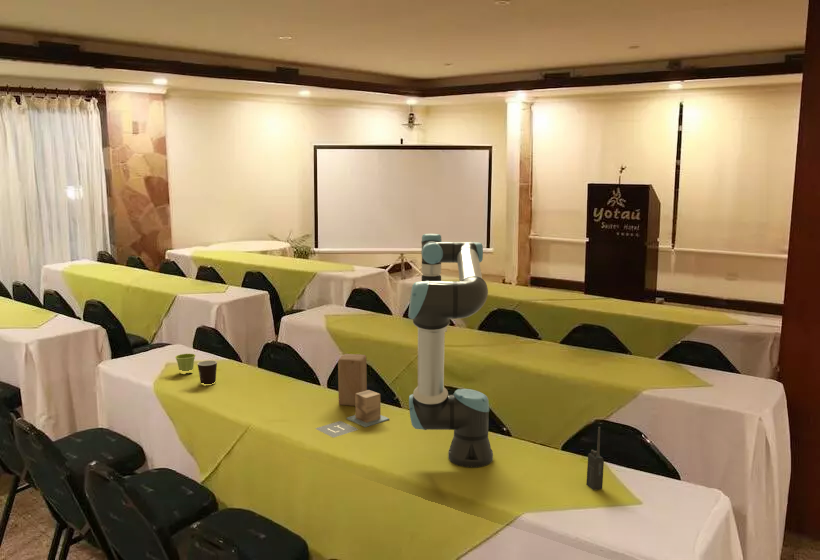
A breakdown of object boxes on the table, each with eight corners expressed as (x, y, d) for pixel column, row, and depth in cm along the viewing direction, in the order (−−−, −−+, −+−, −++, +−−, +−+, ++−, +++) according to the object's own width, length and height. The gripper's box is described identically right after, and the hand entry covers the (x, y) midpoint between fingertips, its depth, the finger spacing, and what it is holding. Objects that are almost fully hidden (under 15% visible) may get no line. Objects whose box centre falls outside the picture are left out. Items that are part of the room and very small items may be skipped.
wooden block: (361, 407, 277) (360, 360, 274) (338, 405, 279) (337, 359, 276) (367, 399, 287) (366, 354, 283) (345, 397, 289) (344, 352, 285)
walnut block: (380, 418, 262) (380, 394, 261) (366, 422, 258) (366, 398, 256) (369, 413, 267) (369, 389, 266) (355, 417, 263) (355, 393, 261)
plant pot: (172, 375, 320) (171, 358, 319) (182, 370, 329) (181, 353, 328) (190, 376, 318) (189, 359, 317) (199, 371, 328) (199, 353, 326)
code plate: (359, 429, 252) (359, 429, 252) (333, 437, 244) (333, 437, 244) (340, 421, 261) (340, 420, 261) (314, 428, 253) (314, 428, 253)
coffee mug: (214, 386, 303) (213, 365, 301) (195, 386, 303) (194, 365, 302) (222, 379, 314) (221, 358, 313) (203, 379, 315) (203, 358, 313)
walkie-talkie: (603, 489, 205) (606, 427, 201) (593, 490, 204) (596, 428, 201) (595, 482, 209) (597, 421, 206) (585, 484, 208) (588, 423, 205)
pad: (389, 419, 262) (389, 418, 262) (365, 427, 254) (365, 426, 254) (370, 411, 271) (370, 410, 271) (346, 419, 263) (346, 417, 263)
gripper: (462, 277, 247) (461, 333, 250) (416, 270, 265) (416, 322, 268) (448, 279, 242) (447, 336, 245) (402, 271, 260) (402, 325, 263)
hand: (431, 329), depth 257 cm, fingers open, 13 cm apart
